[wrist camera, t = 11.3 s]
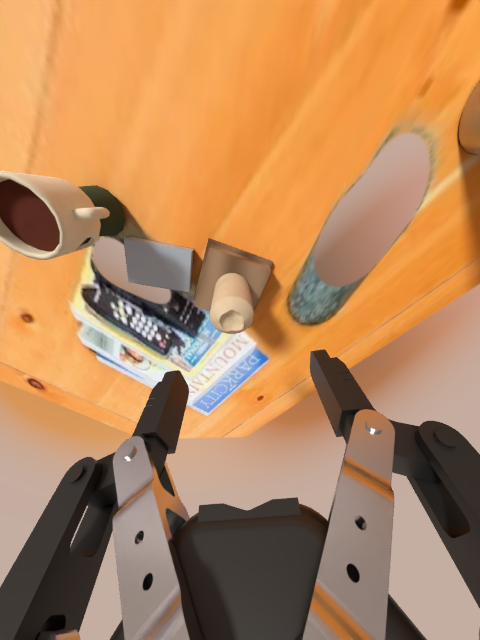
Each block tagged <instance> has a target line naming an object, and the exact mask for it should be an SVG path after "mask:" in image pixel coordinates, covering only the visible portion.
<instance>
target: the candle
mask: <svg viewBox="0 0 480 640" xmlns="http://www.w3.org/2000/svg"><path fill="white" fill-rule="evenodd" d="M253 318H254V311H253V306H252V301H251V295H250V290H249V286H248V283H247V281H246V280H245V278H244V277H242V276H241V275H239V274H236V273H227V274H224V275H223V276H221V277H220V278H219V279H218V281H217V282H216V285H215V289H214V294H213V299H212V304H211V309H210V320H211V322H212V324H213V325H214V327H215V328H217V329H218V330H219V331H221V332H224V333H228V334H235V333H240V332H242V331H244V330H246V329H247V328H248V327H249V326H250V325H251V324H252V322H253Z"/></svg>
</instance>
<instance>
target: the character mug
mask: <svg viewBox="0 0 480 640" xmlns="http://www.w3.org/2000/svg"><path fill="white" fill-rule="evenodd" d="M124 224H125V217H124V213H123V210H122V208H121V206H120V204H119V203H118V201H117V199H116V198H115V197H114V196H113V195H112V194H111V193H110V192H109V191H108V190H106V189H103V188H101V187H99V186H83V187H77V186H75V185H74V184H72V183H70V182H68V181H67V180H64V179H61V178H55V177H48V176H40V175H32V174H24V173H16V172H8V171H0V241H1V242H3V243H4V244H5V245H7V246H8V247H10V248H11V249H12V250H14V251H16V252H18V253H20V254H23V255H25V256H27V257H30V258H34V259H39V260H47V259H52V258H56V257H59V256H62V255H65V254H68V253H71V252H74V251H78V250H81V249H83V248H87V247H89V246H92V245H94V244H95V242H96V241H97V240H98V239H99V236H109V235H117V234H118V233H119V232H120V231H122V230H123V227H124Z"/></svg>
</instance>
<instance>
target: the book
mask: <svg viewBox="0 0 480 640" xmlns="http://www.w3.org/2000/svg"><path fill="white" fill-rule="evenodd" d="M123 239H124V247H125V256H126V264H127V272H128V281H129V282H132V283H137V284H142V285H148V286H154V287H160V288H166V289H172V290H177V291H183V292H189V291H190V289H191V283H192V269H193V255H194V249H191V248H186V247H181V246H176V245H172V244H167V243H162V242H157V241H152V240H147V239H142V238H137V237H132V236H128V237H125V238H123Z"/></svg>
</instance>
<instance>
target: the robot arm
mask: <svg viewBox="0 0 480 640" xmlns="http://www.w3.org/2000/svg"><path fill="white" fill-rule="evenodd" d="M459 139H460V143H461V145H462V147H463V148H464V150H466V151H467V152H469V153H472V154H480V81H479V82H478V83H477V85H476V87H475V88H474V90H473V91H472V93H471V95H470V97H469V99H468V101H467V103H466V105H465V107H464V110H463V113H462V116H461V120H460V126H459ZM310 372H311V377H312V380H313V382H314V384H315V387H316V389H317V391H318V394H319V396H320V399H321V401H322V404H323V406H324V408H325V411H326V413H327V415H328V418H329V420H330V423H331V425H332V428H333V430H334V432H335V435H336V437H340V436H343V437H344V439H345V441H346V444H347V445H346V449H345V454H344V458H343V462H342V466H341V470H340V474H339V478H338V482H337V487H336V490H335V494H334V498H333V502H332V506H331V510H330V514H329V518H328V521H327V520H326V519H325V518H324V517H323V516H322V515H320V514H319V513H318V512H316V511H315V510H313V509H311V508H309V507H307V506H305V505H302V504H299V503H298V498H287V499H273V500H270V501H268V502H266V503H264V504H262V505H260V506H258V507H255V508H253V509H251V510H248V511H246V510H242V509H239V508H235V507H232V506H229V505H226V504H210V505H200V506H199V513H197V514H195V515H194V516H192V517H191V518H189V515H188V513H187V510H186V508H185V507H184V505H183V503H182V502H181V500H180V498H179V496H178V493H177V491H176V488H175V485H174V482H173V480H172V477H171V474H170V471H169V469H168V466H167V463H166V462H165V460H166V456H167V454H171V453H175V450H176V446H177V441H178V437H179V433H180V429H181V425H182V421H183V416H184V412H185V408H186V404H187V400H188V395H189V388H188V385H187V383H186V381H185V379H184V377H183V376H182V374H181V372H180V371H179V370H178V371H171V372H166V373H165V375H164V377H163V380H162V382H158V383H157V385H156V386H155V387H154V388H153V390H152V392H151V394H150V396H149V400H148V401H147V403H146V407H145V408H144V410H143V412H142V415H141V417H140V419H139V422H138V424H137V426H136V429H135V431H134V433H133V435H132V437H131V438H129V439H127V440H126V441H125V442H123V444H121V446H120V447H119V448H118V449H117V451H116V452H115V453H113V454H110V455H108V456H106V457H104V458H102V459H100V460H97V461H96V460H95V459H93V458H91V457H86V458H83V459H81V460H79V461H78V462H76V463H75V464H74V465H73V466H72V467H71V468H70V469H69V470H68V471H67V473H66V474H65V476H64V477H63V479H62V481H61V482H60V484H59V486H58V488H57V489H56V491H55V493H54V494H53V496H52V498H51V500H50V501H49V503H48V505H47V507H46V508H45V510H44V512H43V514H42V516H41V517H40V519H39V521H38V522H37V524H36V526H35V528H34V529H33V531H32V533H31V535H30V537H29V538H28V540H27V542H26V543H25V545H24V547H23V549H22V551H21V552H20V554H19V556H18V557H17V559H16V561H15V563H14V564H13V566H12V568H11V570H10V571H9V573H8V575H7V577H6V578H5V580H4V582H3V584H2V586H1V587H0V640H80V636H79V630H80V627H81V624H82V621H83V618H84V615H85V612H86V609H87V606H88V602H89V600H90V597H91V594H92V590H93V588H94V585H95V582H96V579H97V576H98V573H99V570H100V567H101V563H102V561H103V557H104V554H105V552H106V549H107V546H108V542H109V540H110V537H111V533H112V531H113V534H114V544H115V553H116V563H117V572H118V581H119V591H120V599H121V609H122V621H121V622H120V624H119V625H118V627H117V629H116V630H115V632H114V634H113V635H112V637H111V639H110V640H426V638H425V637H424V636H423V635H422V634H421V632H420V631H419V630H418V629H417V627H416V626H415V625H414V624H413V623H412V621H411V620H410V619H409V618H408V617H407V615H406V614H405V613H404V612H403V611H402V609H401V608H400V607H399V606H398V604H397V603H396V602H395V601H394V600H393V598H392V597H391V596H390V595H389V593H388V588H389V573H390V571H389V570H390V557H391V542H392V528H393V513H394V493H393V490H392V488H391V478H392V472H393V473H397V474H401V475H404V476H407V478H408V480H409V481H410V484H411V485H412V487H413V489H414V491H415V493H416V494H417V496H418V498H419V500H420V502H421V503H422V505H423V507H424V509H425V511H426V512H427V514H428V516H429V518H430V520H431V521H432V523H433V525H434V527H435V529H436V530H437V532H438V534H439V536H440V538H441V539H442V541H443V543H444V545H445V547H446V549H447V550H448V552H449V554H450V556H451V558H452V559H453V561H454V563H455V565H456V566H457V568H458V570H459V572H460V574H461V575H462V577H463V579H464V581H465V583H466V585H467V586H468V588H469V590H470V592H471V593H472V595H473V597H474V599H475V601H476V603H477V604H478V606H479V608H480V454H479V453H478V452H477V451H476V450H475V449H474V448H473V447H472V445H471V444H470V443H469V442H468V441H467V440H466V439H465V438H464V437H463V436H462V435H461V434H460V433H459V432H458V431H456V430H455V429H453V428H452V427H450V426H448V425H446V424H443V423H440V422H436V421H426V422H424V423H422V424H421V425H420V426H414V425H409V424H404V423H399V422H395V421H392V420H389V419H387V418H386V417H385V416H383V415H382V414H380V413H379V412H377V411H376V410H375V409H374V408H373V407H372V405H371V403H370V402H369V400H368V399H367V397H366V396H365V394H364V393H363V391H362V390H361V388H360V386H359V385H358V383H357V382H356V381H355V380H354V377H353V376H352V374H351V373H350V371H349V370H348V368H347V366H346V365H345V363H343V362H342V361H341V360H339V359H338V358H337V357H335V358H330V357H329V355H328V353H327V352H326V350H317V351H311V355H310ZM86 506H88V508H87V511H86V513H85V515H84V518H83V520H82V522H81V524H80V527H79V529H78V531H77V533H76V536H75V538H74V540H73V543H72V545H71V547H70V544H71V541H72V538H73V536H74V533H75V531H76V529H77V527H78V524H79V522H80V520H81V518H82V515H83V513H84V511H85V509H86ZM479 640H480V629H479Z"/></svg>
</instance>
